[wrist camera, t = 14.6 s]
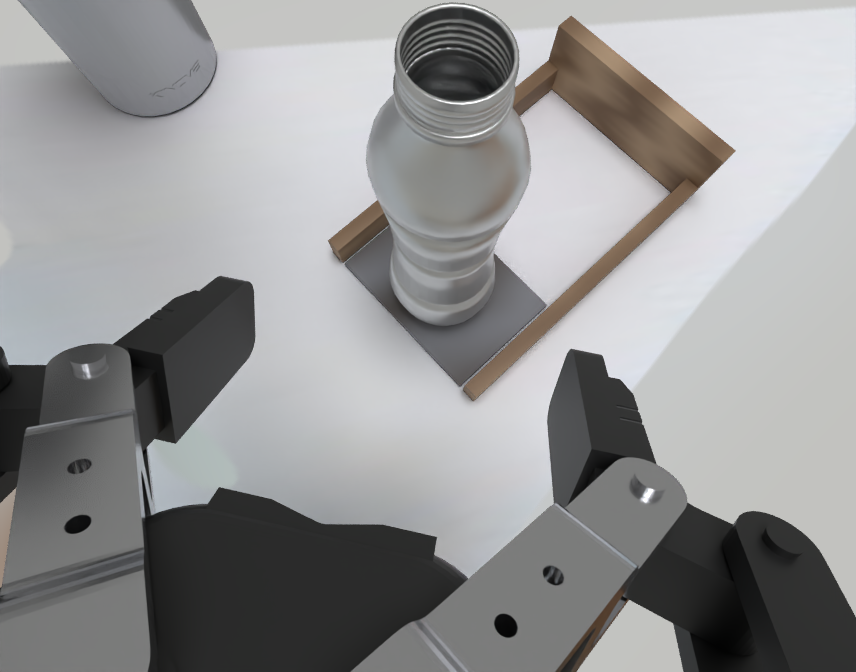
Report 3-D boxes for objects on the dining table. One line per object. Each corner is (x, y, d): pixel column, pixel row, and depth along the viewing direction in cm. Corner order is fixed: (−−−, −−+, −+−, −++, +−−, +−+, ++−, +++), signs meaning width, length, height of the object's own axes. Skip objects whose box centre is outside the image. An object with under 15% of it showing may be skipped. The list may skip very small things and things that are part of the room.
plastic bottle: (447, 354, 33) (475, 198, 13) (371, 288, 34) (295, 57, 15) (510, 284, 34) (619, 48, 15) (434, 223, 35) (443, -72, 16)
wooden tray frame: (333, 252, 35) (318, 219, 30) (553, 71, 39) (571, 15, 34) (473, 401, 32) (481, 390, 28) (694, 192, 36) (735, 150, 31)
